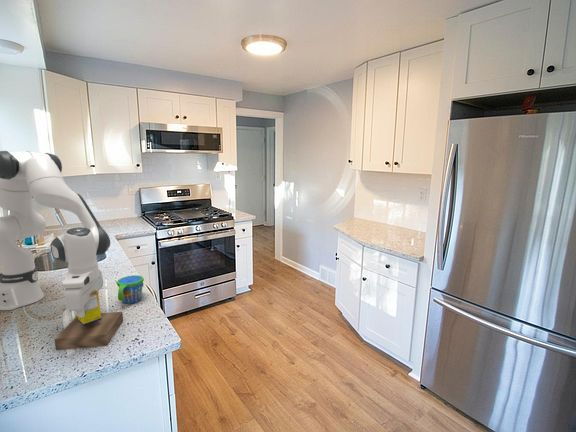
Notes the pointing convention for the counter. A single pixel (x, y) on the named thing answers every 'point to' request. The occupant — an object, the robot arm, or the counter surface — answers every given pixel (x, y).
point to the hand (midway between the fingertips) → (88, 309)
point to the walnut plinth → (89, 332)
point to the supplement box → (91, 310)
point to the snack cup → (130, 288)
